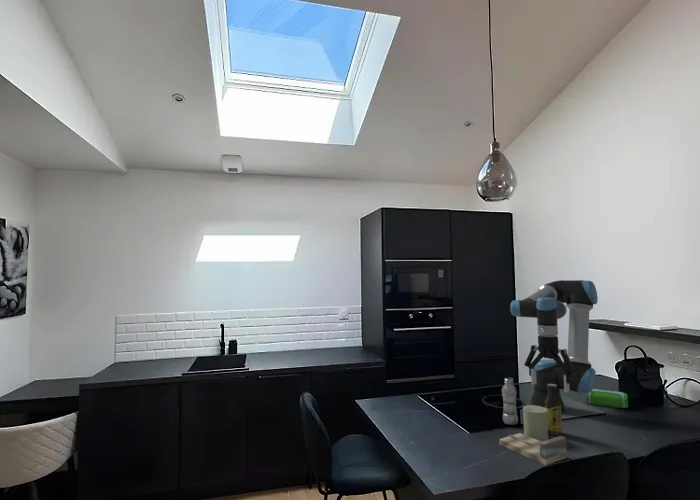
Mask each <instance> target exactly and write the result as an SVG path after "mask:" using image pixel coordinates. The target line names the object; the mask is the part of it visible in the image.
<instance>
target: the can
mask: <svg viewBox="0 0 700 500" xmlns="http://www.w3.org/2000/svg"><path fill="white" fill-rule="evenodd" d="M522 412H523V413H522V414H523V417H522V418H523V434H524V435H526V436H529V437H531V438H534V439H536V440H539V441H541V442H544V441H547V440H550V439H549V434H548V425H547V409H546V408H544V407H541V406H535V405H531V404H528V405H527V404H526V405H524V406H522Z"/></svg>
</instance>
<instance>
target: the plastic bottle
mask: <svg viewBox="0 0 700 500" xmlns="http://www.w3.org/2000/svg"><path fill="white" fill-rule="evenodd" d="M517 393H518V390H517V388H516V386H515V384H514V378H512V377H505V378H504V385H503V386H502V388H501V394H502V401H503V402H502V403H503V404H502V405H503V409H502V410H503V412H502V421H503V423H504V424H506V425H508V426H517V424H518V422H519V416H518V411H517V396H518V394H517Z"/></svg>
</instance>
